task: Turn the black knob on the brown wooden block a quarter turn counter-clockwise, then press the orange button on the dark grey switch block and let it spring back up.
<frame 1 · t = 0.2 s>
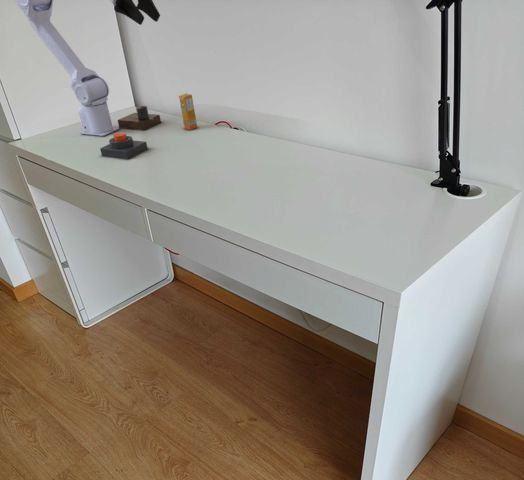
hand: (150, 20, 136), 31 cm above the table, tool tilted 45°, fingers open, 7 cm apart
button: (120, 137, 144), point 4 cm above the table, slide at 0.1 cm
switch block: (125, 152, 147), on the table
brown wooden block: (140, 125, 169), on the table
supplement box: (190, 129, 162), on the table
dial: (142, 112, 164), point 4 cm above the table, hinge at 0.0°
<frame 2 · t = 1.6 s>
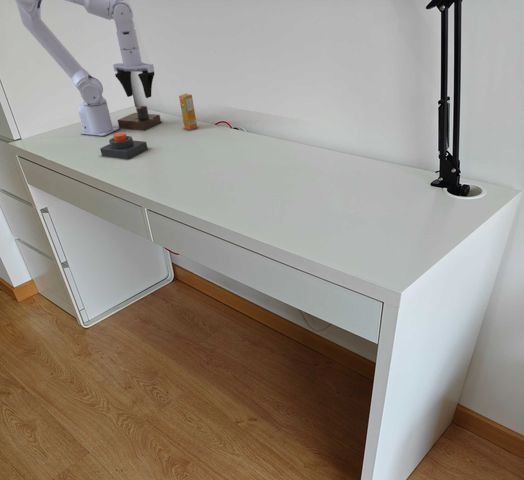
hand: (139, 96, 161), 9 cm above the table, tool pointing down, fingers open, 7 cm apart
nothing on the table moved.
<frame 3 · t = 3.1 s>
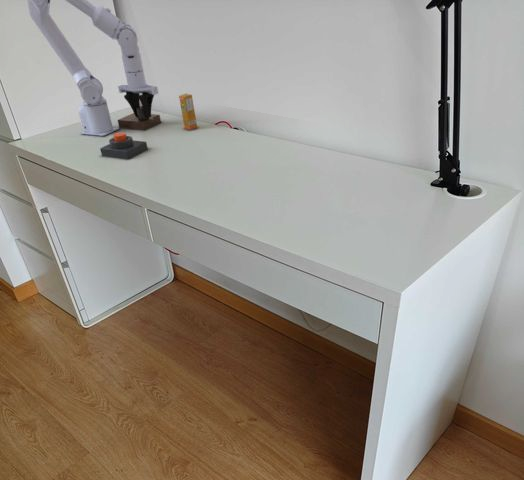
hand: (143, 117, 165), 3 cm above the table, tool pointing down, fingers closed on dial, 3 cm apart
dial: (142, 112, 164), point 4 cm above the table, hinge at 0.0°, touching gripper
everything else where it was.
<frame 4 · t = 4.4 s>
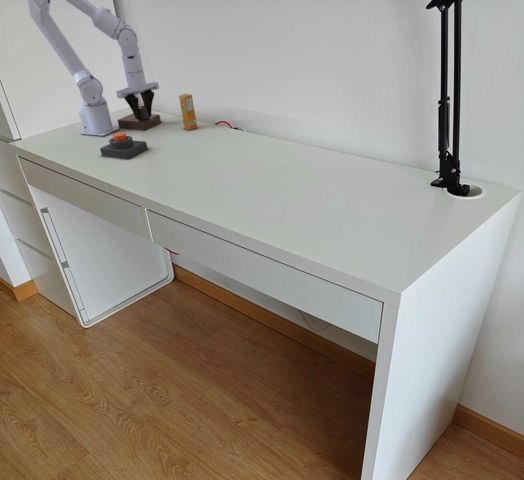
hand: (143, 117, 165), 3 cm above the table, tool pointing down, fingers closed on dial, 3 cm apart
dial: (142, 112, 164), point 4 cm above the table, hinge at 69.0°, touching gripper
everything else where it was.
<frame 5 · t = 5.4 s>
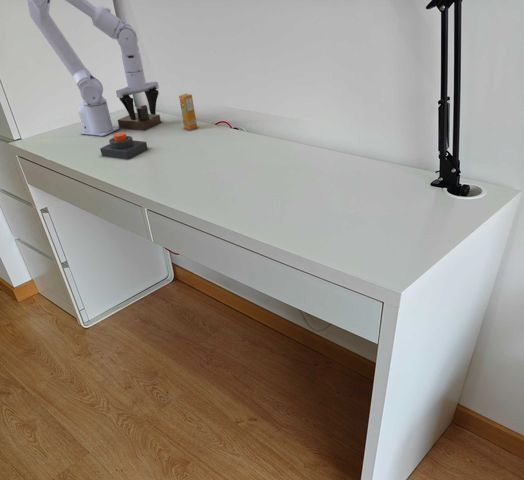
hand: (143, 116, 165), 3 cm above the table, tool pointing down, fingers open, 7 cm apart
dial: (142, 112, 164), point 4 cm above the table, hinge at 68.8°
everything else where it was.
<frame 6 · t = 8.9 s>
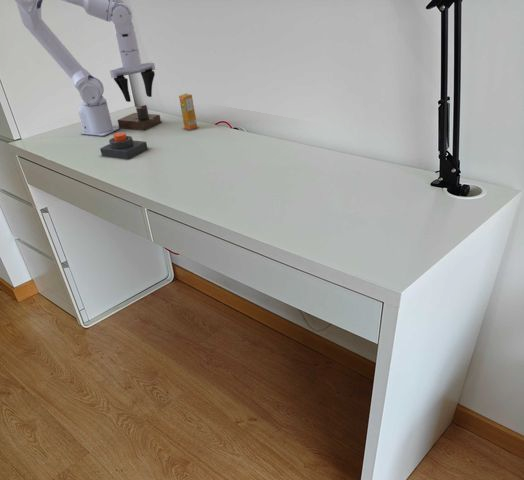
hand: (138, 98, 161), 9 cm above the table, tool pointing down, fingers open, 7 cm apart
nothing on the table moved.
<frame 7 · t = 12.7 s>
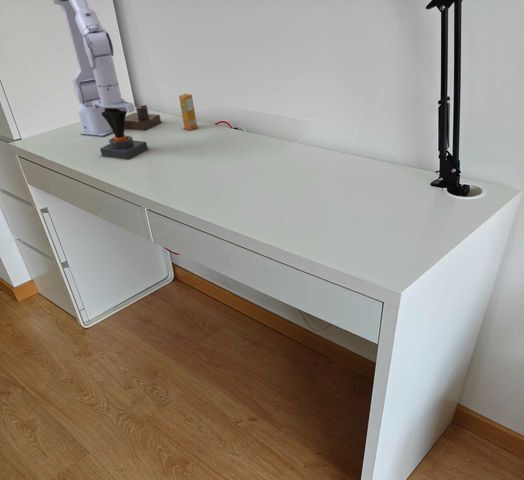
hand: (120, 136, 143), 5 cm above the table, tool pointing down, fingers closed, pressing on button
button: (120, 139, 144), point 4 cm above the table, slide at -0.6 cm, touching gripper
everything else where it was.
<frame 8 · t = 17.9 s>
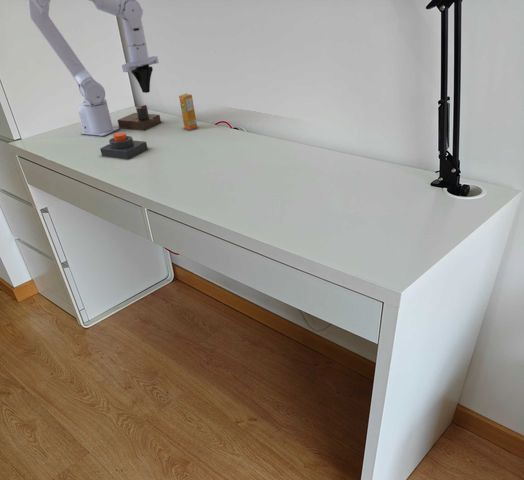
hand: (146, 92, 165), 9 cm above the table, tool pointing down, fingers closed
button: (120, 137, 144), point 4 cm above the table, slide at 0.1 cm
everything else where it was.
at the end: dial at +69° (first picture: +0°); button pushed in 1.2 cm at the most during the clip, back to where it started at the end; button slide at 0.1 cm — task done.
